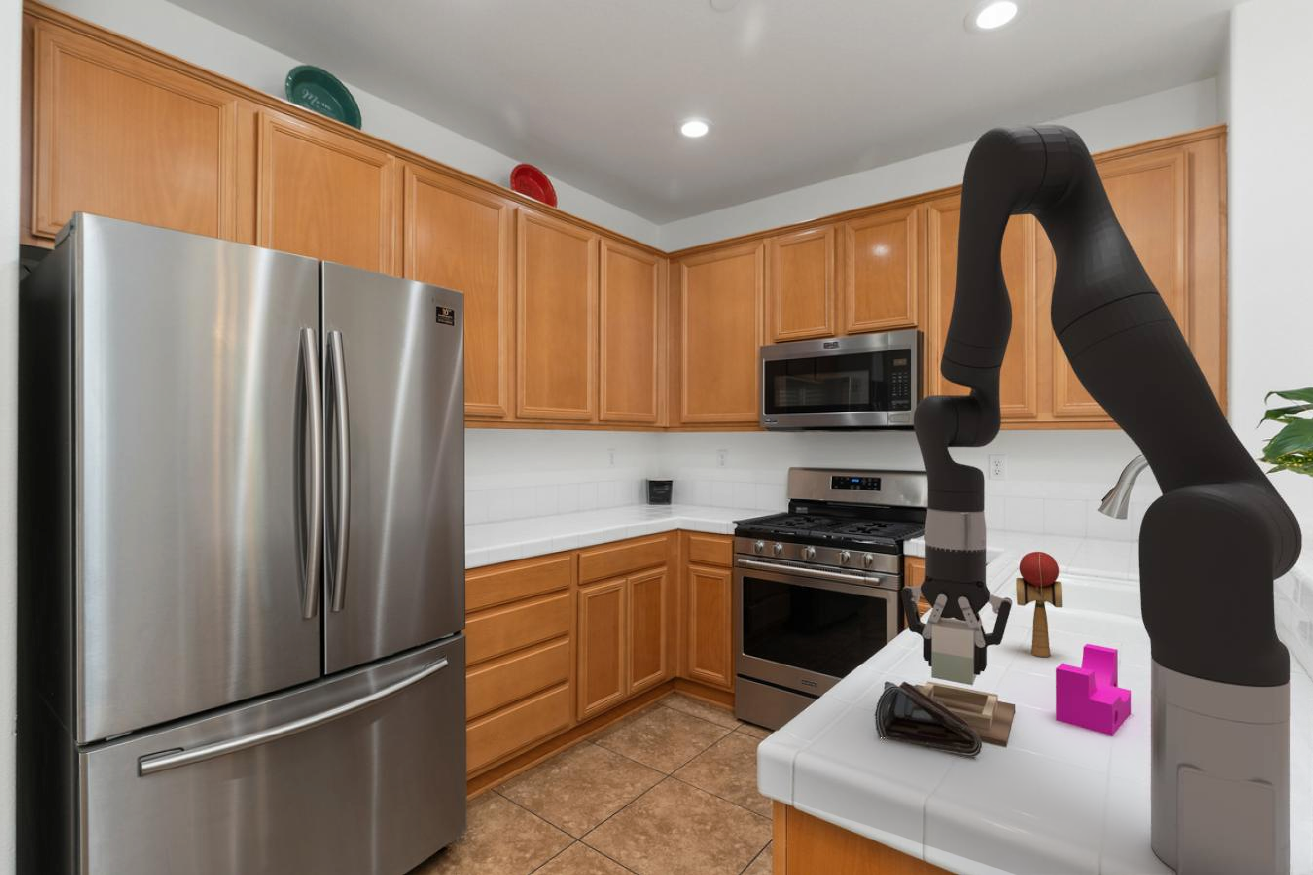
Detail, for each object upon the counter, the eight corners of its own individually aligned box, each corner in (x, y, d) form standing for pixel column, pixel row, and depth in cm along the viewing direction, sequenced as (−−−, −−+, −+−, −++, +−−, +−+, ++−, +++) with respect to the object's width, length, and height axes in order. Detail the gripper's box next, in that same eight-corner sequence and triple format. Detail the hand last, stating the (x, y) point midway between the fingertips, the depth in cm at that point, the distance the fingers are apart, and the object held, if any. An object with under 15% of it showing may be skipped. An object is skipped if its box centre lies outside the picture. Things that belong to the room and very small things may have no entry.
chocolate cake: (992, 725, 81) (916, 649, 85) (989, 746, 74) (907, 662, 79) (936, 771, 83) (865, 694, 88) (929, 794, 77) (854, 710, 82)
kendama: (1007, 653, 114) (1007, 551, 114) (1021, 645, 118) (1021, 547, 118) (1057, 665, 108) (1057, 557, 108) (1069, 656, 112) (1069, 552, 112)
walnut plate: (1006, 750, 78) (1006, 728, 78) (894, 724, 86) (894, 704, 86) (1015, 712, 89) (1015, 693, 89) (915, 692, 96) (915, 674, 96)
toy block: (1112, 740, 82) (1112, 680, 82) (1056, 724, 86) (1056, 668, 86) (1138, 706, 92) (1138, 653, 92) (1087, 693, 97) (1087, 643, 97)
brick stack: (972, 685, 84) (973, 631, 84) (931, 677, 87) (931, 625, 87) (977, 673, 88) (977, 622, 88) (937, 666, 91) (938, 616, 91)
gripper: (1017, 544, 87) (1017, 671, 87) (905, 534, 94) (904, 651, 95) (1013, 552, 80) (1012, 689, 80) (893, 541, 88) (892, 666, 88)
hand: (954, 668), depth 88 cm, fingers closed on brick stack, 5 cm apart
